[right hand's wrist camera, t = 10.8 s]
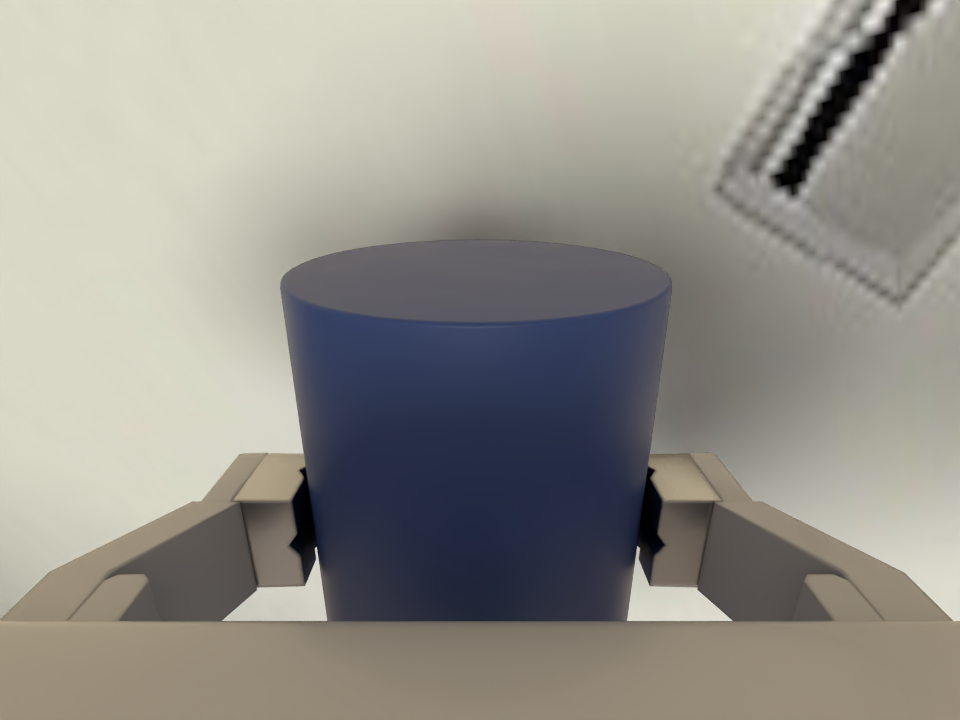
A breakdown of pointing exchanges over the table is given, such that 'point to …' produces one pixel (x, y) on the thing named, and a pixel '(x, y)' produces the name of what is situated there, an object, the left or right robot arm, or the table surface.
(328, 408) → the cylinder
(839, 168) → the table surface
